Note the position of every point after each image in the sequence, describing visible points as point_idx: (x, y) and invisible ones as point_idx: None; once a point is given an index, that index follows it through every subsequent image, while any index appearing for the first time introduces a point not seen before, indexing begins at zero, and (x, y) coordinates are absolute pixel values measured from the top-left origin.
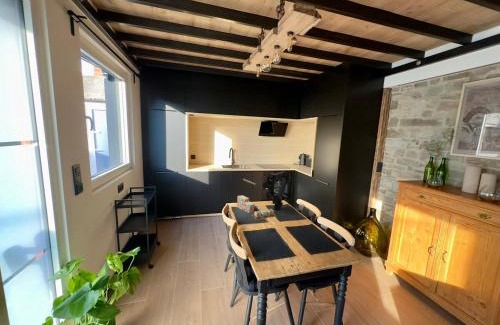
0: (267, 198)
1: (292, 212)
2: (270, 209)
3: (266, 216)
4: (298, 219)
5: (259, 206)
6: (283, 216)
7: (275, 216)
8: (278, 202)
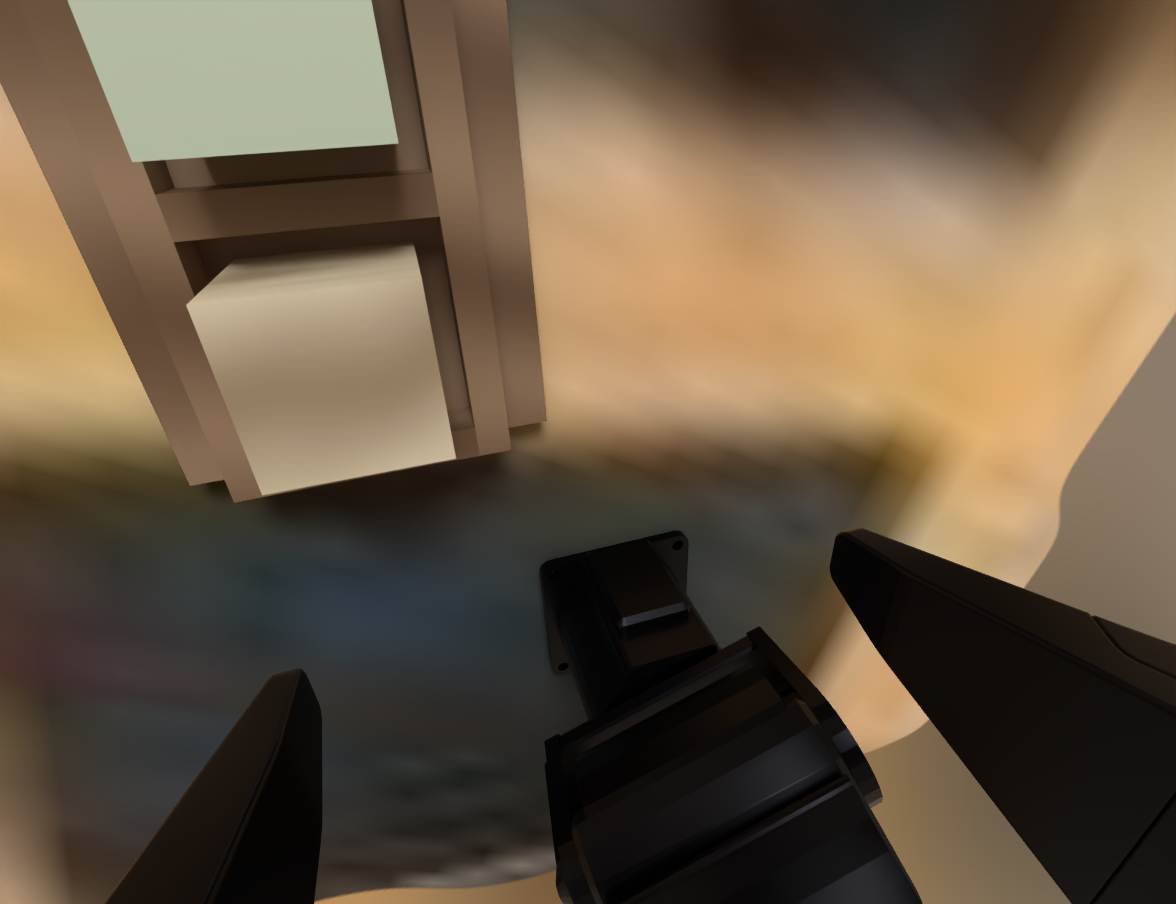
0: (948, 600)
1: (445, 812)
2: (405, 413)
3: (55, 54)
4: (58, 865)
5: (972, 272)
6: (249, 637)
7: (170, 441)
8: (576, 840)
